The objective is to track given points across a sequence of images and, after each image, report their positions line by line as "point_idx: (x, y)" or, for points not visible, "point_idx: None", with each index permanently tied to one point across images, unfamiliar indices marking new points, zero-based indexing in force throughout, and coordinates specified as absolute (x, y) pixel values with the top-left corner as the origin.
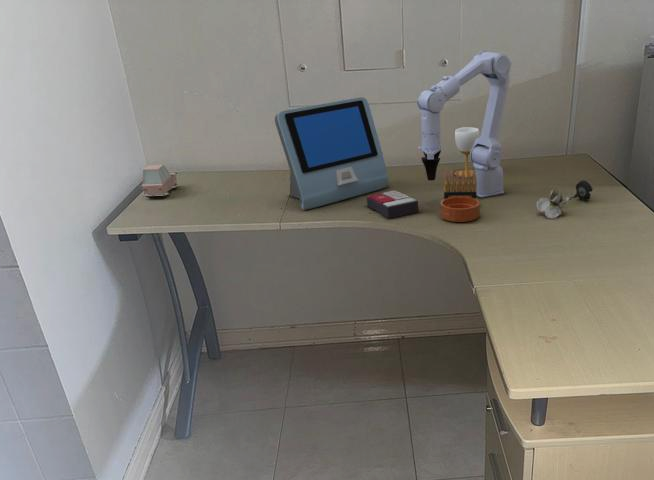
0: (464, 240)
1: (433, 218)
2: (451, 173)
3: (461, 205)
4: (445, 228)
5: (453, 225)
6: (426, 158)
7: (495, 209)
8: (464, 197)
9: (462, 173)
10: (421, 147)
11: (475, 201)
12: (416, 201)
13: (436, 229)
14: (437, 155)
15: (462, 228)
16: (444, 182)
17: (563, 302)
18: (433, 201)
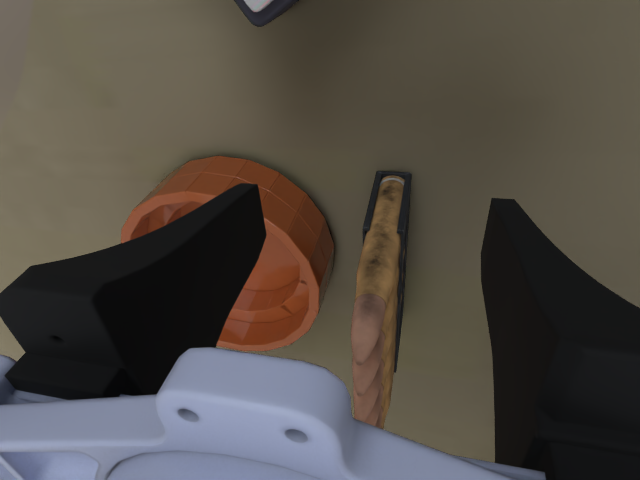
0: (9, 228)
1: (197, 114)
2: (353, 367)
3: (300, 268)
4: (89, 169)
5: (134, 202)
6: (49, 344)
7: (349, 359)
8: (309, 308)
9: (355, 416)
10: (227, 448)
11: (273, 336)
12: (246, 15)
13: (61, 130)
14: (499, 439)
15: (114, 232)
16: (365, 274)
17: None
18: (517, 109)
